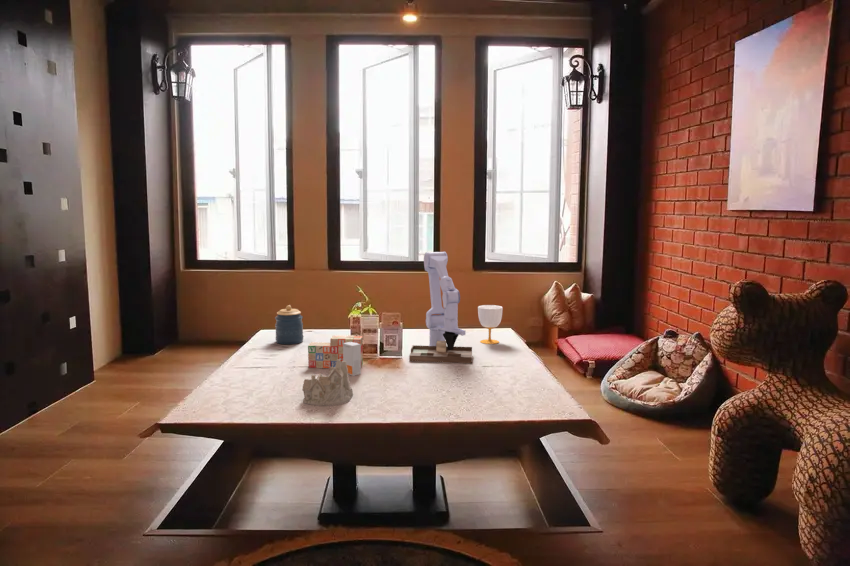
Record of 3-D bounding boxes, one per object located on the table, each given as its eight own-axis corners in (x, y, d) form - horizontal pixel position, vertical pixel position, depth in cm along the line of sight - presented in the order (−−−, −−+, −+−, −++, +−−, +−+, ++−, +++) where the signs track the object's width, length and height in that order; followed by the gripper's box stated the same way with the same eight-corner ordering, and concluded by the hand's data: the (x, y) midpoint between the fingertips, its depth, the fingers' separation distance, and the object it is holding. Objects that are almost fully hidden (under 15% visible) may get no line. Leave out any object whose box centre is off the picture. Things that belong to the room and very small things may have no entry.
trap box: (412, 354, 267) (412, 345, 266) (471, 355, 264) (472, 346, 264) (409, 361, 255) (409, 352, 254) (471, 363, 253) (471, 353, 252)
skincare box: (342, 373, 237) (342, 343, 236) (351, 371, 240) (350, 341, 239) (353, 376, 233) (352, 345, 231) (361, 373, 236) (361, 343, 235)
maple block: (437, 349, 265) (437, 340, 264) (446, 349, 265) (446, 340, 264) (436, 351, 261) (436, 342, 261) (445, 352, 261) (445, 343, 260)
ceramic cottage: (358, 391, 213) (354, 350, 211) (342, 409, 198) (338, 364, 195) (316, 391, 217) (312, 351, 214) (298, 408, 201) (293, 364, 199)
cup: (477, 338, 297) (478, 304, 295) (502, 339, 296) (502, 305, 294) (476, 344, 286) (477, 308, 284) (501, 345, 284) (502, 309, 282)
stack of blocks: (308, 368, 245) (307, 338, 243) (311, 364, 251) (311, 334, 249) (360, 369, 244) (360, 339, 242) (363, 364, 250) (362, 335, 248)
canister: (294, 337, 299) (293, 302, 296) (308, 342, 289) (307, 305, 287) (270, 341, 290) (269, 305, 288) (284, 346, 281) (283, 308, 278)
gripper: (470, 319, 258) (469, 350, 260) (444, 314, 267) (443, 345, 269) (459, 321, 253) (459, 353, 254) (433, 317, 262) (433, 347, 264)
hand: (450, 349), depth 261 cm, fingers closed
